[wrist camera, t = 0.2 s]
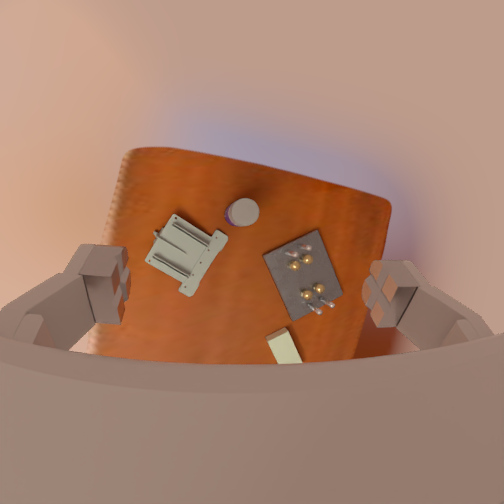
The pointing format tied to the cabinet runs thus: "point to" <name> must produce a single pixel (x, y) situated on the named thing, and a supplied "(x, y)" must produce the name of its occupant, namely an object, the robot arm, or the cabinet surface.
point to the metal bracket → (185, 252)
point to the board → (283, 347)
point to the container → (242, 212)
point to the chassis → (303, 275)
